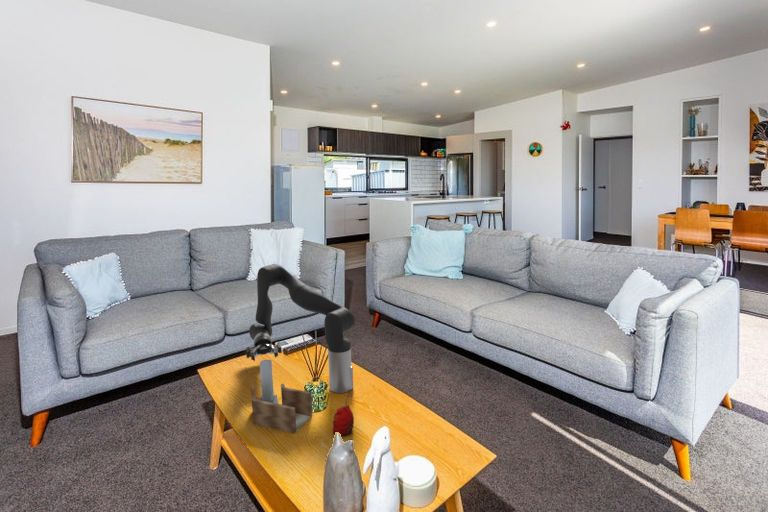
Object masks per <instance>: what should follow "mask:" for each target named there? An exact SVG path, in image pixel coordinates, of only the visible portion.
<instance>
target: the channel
mask: <svg viewBox="0 0 768 512" xmlns="http://www.w3.org/2000/svg"><path fill="white" fill-rule="evenodd" d="M285 386H286V385H285V383H281V384H280V394H281V404H280V403H278V404H276V403H271V402H266V401H262V400H259V399H257V398H256V393H255V392H256V391H255V390H256V389H255V388H250V390H251V391H250V392H251V393H250V394H251V395H250V396H251V406H252V408H251V409H252V419H253V425H257V426H259V427H260V426H261V427H266V428H269V429H273V430H277V431H281V432H285V433H288V434H289V433H291V434H293V435H294V434H296V433H297V432H298V431H299V430H300V429H302V427H303V426H304V425H305V424H306V423H307V422H308V421H309V420H310V419H311V418H312V417H313V401H312V392H311V391H306V390H301V389H297V388H296V389H295V388H290V387H285Z"/></svg>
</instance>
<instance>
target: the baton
mask: <svg viewBox="0 0 768 512" xmlns="http://www.w3.org/2000/svg"><path fill="white" fill-rule="evenodd" d="M259 373H260V386H261V387H260V388H261V397H262V401H266V402H271V403H272V402H273V401H274V395H275V393H274V392H275V391H274V379H273V378H274V377H273V364H272V360H271V359H262V360H261V361H259Z"/></svg>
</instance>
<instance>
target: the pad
mask: <svg viewBox="0 0 768 512" xmlns="http://www.w3.org/2000/svg"><path fill="white" fill-rule="evenodd" d="M258 400H262V396H261V397H258ZM278 400H279V398H278V394H274V401H273V402H272V403H276V404H279V401H278Z"/></svg>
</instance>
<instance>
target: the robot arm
mask: <svg viewBox="0 0 768 512" xmlns="http://www.w3.org/2000/svg"><path fill="white" fill-rule="evenodd" d="M256 277H257V279H256V281H257V282H256V283H257V286H256V287H257V289H256V290H257V306H256V307H257V308H256V313H255V321H256V322H257V323H252V324H251V325H250V327H249V330H248V333H249V336H250V338H251V339H252V340H253V348H250V346H248V347H246V351H245V354H246V355H245V356H246V359H249V358H250V359H251V361H256V357H259V356H260V355H261V356H262V355H267V354H269V355H274V358H277V357H279V354H281V353H283V352H282V351H283V350H282V346H281V343H280V342H277V343H276V344H275V345H274V344H273V343H272V338H271V337H272V335H273V326H272V321H271V320H272V315H273V303H272V301H271V299H270V296H269V289H270V287H273V286H276V285H281V286H283V287H285V288H286V289H287V290H288V294H289V298H290V299H291V301H292V302H293V303H294V304H296V305H297V307H300V308H302V309H303V310H305V311H308V312H312V313H317V314H320V315H321V314H322V315H323V316H325V318H324V334H325V342H326V345H327V349H328V350H327V353H328V355H327V356H328V358H327V359H328V380H329V381H328V385H329V386H328V387H329V390H330V392H333V393H335V394H342V393H344V394H345V393H347V392H349V391H351V390H354V368H353V366H352V343H351V341H350V339H348V338H344V333H345V332H347V331H349V330H350V329H351V328H353V327H354V326H355V324H356V318H355V316H354V314H353V313H352V311H351V310H350V309H348V308H347V307H345V306H343V305H340V304H338V303H337V302H334V301H333V300H331V299H329V298H328V297H326V296H324V295H323V294H321V293H319V291H317V290H315V288H312V287H311V286H309V285H308V284H306V283H304V282H303V281H301V280H300V279H299V278H297V277H296V276H294V275H293V274H292V273H291V272H290V271H288V270H287V269H286V268H285V267H283V265H281V264H278V263H273V264H269V265H265V266H262V267H260V268H259V269H258V271H257V275H256Z"/></svg>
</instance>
